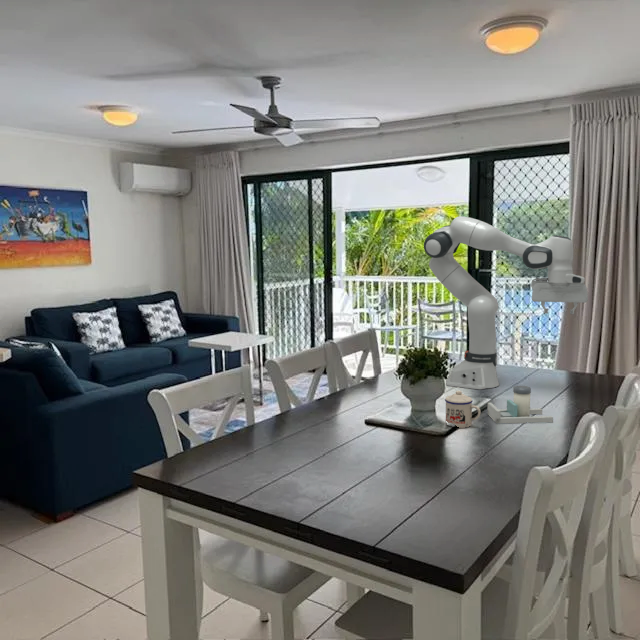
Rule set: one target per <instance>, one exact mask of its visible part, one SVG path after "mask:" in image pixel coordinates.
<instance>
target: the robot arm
mask: <svg viewBox="0 0 640 640" xmlns="http://www.w3.org/2000/svg"><path fill="white" fill-rule="evenodd" d="M461 244H463V245H466V246H469V247H472V248H473V249H478V250H482V251H500V252H507V253H510V254H512V255H514V256H518V257H521V258H522V262H523V264H524V265H525V266H526V267H527V268H529V269H532V270H540V269H541V270H542V269H543V270H544V269H545V270H546V269H547V277H541V278H540V277H535V278H534V279H532V280H531V283H530V287H531V289H532V292H531V293H532V294H531V300H532V302H537V303H539V302H540V305H541V307H542V309H543V314H548V313H549V308H547V307H546V306H545V305H546V303H573V308H572V309H571V308H570V309H569V314H570V315H575V310H576V308H577V307H578V303H580V304H581V303H582V304H583V303H587V302H588V301H589V299H588V297H589V295H588V294H589V293H588V287H587V285H586V284H585V282H586V277H584V276H582V275H578V274H577V273H576V274H574V272H573V270H574V269H573V260H574V243H573V240H572V239H571V238H570V237H568V236H564V235H563V236H562V235H555V234H553V235H551V236H550V237H549V238H547V239H545V240H543V241H541V242H538V243H531V242H528V241H526V240H522V239H519V238H516V237H513V236H511V235H509V234H507V233H505V232H504V231H502V230H500V229H498V228H497V227H495V226H494V225H491V224H489V223H488V222H485V221H482V220H480V219H476V218H473V217H469V216H462V215H460V216H457V217H455V218H453V220H452V221H451V222H450V224H449V225H444V226H442V227H440V228H437V229H436V230H435V231H433V232H432V233H430V234H429V235H428V236H427V237H426V238H425V240H424V242H423V249H424V252H425V254H426V255H428V256H429V258H430V260H429V262H428V266H429V267H428V268H429V269H430V270H431V272H432V274H433V275H434V276H435V277H436V279H437V280H438V281H439V283H441V284H442V286H444V287H445V288H446V290H447V291H449V293H451V295H453V297H454V298H455V299H457V300H459V301H460V302H461V303H462V304H464V305H465V306H466V308H467V321H468V332H469V335H468V336H469V340H468V341H469V343H468V344H469V346H468V349H469V350H465V351H464V360H463V361H461V362H460V363H458V364H457V365H456V366H454V367H453V368H452V370H451V373H450V377H448V378H447V379H446V380H445V382H446V384H445V385H446V386H448V387H456V388H457V387H458V388H465V389H472V390H484V389H491V388H492V389H493V388H495V387H496V388H497V387H499V386H500V383H499V378H498V371H497V365H498V353H497V332H496V314H497V312H498V310H499V302H498V300H497V298H496V297H495V296H494V295H493V294H492V293H491V292H490V291H488V289H486V288H485V287H484V285H482V284H480V282H478V281H477V280H476V279H475V278H474V277H472V275H471V274H470V273H469V272H468V271H467V270H466V269H465V268H464V267H463V266H462V265H461V264H460V263H459V262H458V261H457V260H456V258H455V257H454V254H455V253H456V252H457V251H458V248H459V247H460V245H461Z"/></svg>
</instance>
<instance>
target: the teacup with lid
mask: <svg viewBox="0 0 640 640" xmlns="http://www.w3.org/2000/svg"><path fill="white" fill-rule="evenodd" d="M444 401H445V422H446V421H447V422H448V423H452V424H455V425H456V426H457V427H459V428H458V429H466V428H465V427H467V428H469V426H470V427H471V426H472V421H476V420H478V419H479V418H480V416H481V408H480V407H479V406H477V405H474V404H473V399H472V397H470V396H469V395H466V394H464V393H463V392H462V390H456V391H455V393H452V395H448V396H446V397H445V399H444ZM473 409H476V411H477V415H476V416H475V417H472V414H473V413H472V410H473Z"/></svg>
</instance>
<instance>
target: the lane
mask: <svg viewBox="0 0 640 640" xmlns="http://www.w3.org/2000/svg"><path fill="white" fill-rule="evenodd" d="M501 412H507V408H504V409H502V408H501V409H500V408H498V407H497V406H496V405H494V404H493V403H492V402H487V415H489V416H490V417H491V418H492V419H493V422H494V423H495V424H497V423H512V424H527V423H526V422H551V423H554V417H553V416H552V415H545V416H544V415H543V409H542V408H538V407H537V408H530V414H541V415H542V416H541V415H537V416H535V415H533V416H530V417H501ZM489 416H488V417H489ZM490 417H489V418H490Z"/></svg>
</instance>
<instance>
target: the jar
mask: <svg viewBox="0 0 640 640" xmlns="http://www.w3.org/2000/svg"><path fill="white" fill-rule="evenodd" d="M512 388H513V389H512V390H513V391H512V392H513V402H514V403H515V404H516V405H517V417H531V415H530V409H531V393H532V388H531V387H530V386H528V385H515V386H513V387H512Z"/></svg>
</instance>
